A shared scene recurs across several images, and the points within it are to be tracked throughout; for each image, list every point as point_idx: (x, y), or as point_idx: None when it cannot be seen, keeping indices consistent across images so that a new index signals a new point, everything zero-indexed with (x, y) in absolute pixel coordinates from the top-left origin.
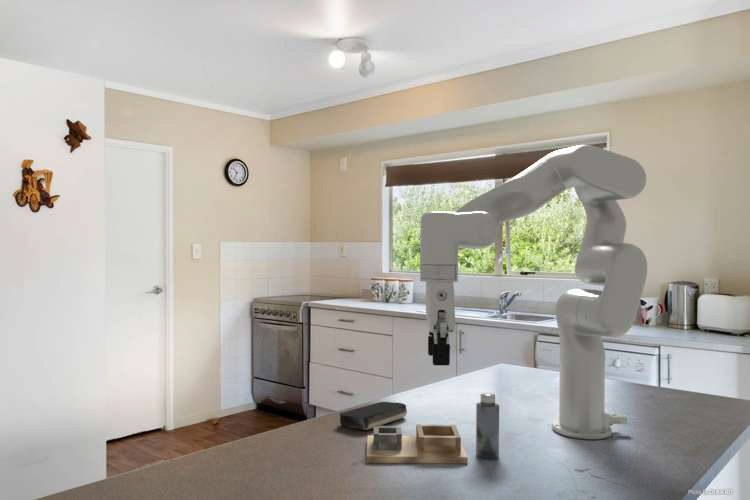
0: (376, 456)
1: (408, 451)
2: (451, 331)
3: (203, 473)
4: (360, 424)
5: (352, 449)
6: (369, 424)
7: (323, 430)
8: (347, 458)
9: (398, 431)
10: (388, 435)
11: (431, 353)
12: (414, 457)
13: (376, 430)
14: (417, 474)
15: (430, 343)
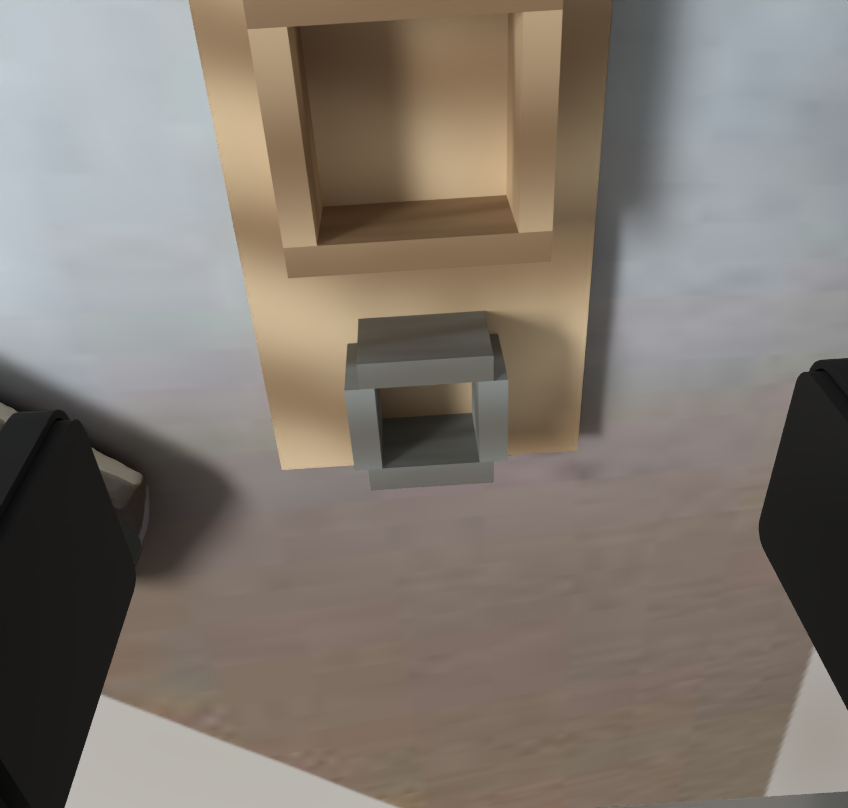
0: (578, 413)
1: (511, 276)
2: (712, 801)
3: (637, 790)
4: (148, 518)
5: (407, 495)
6: (128, 481)
7: (175, 617)
8: (518, 500)
9: (444, 373)
10: (507, 416)
11: (121, 568)
12: (593, 243)
13: (435, 474)
14: (737, 215)
15: (80, 713)
